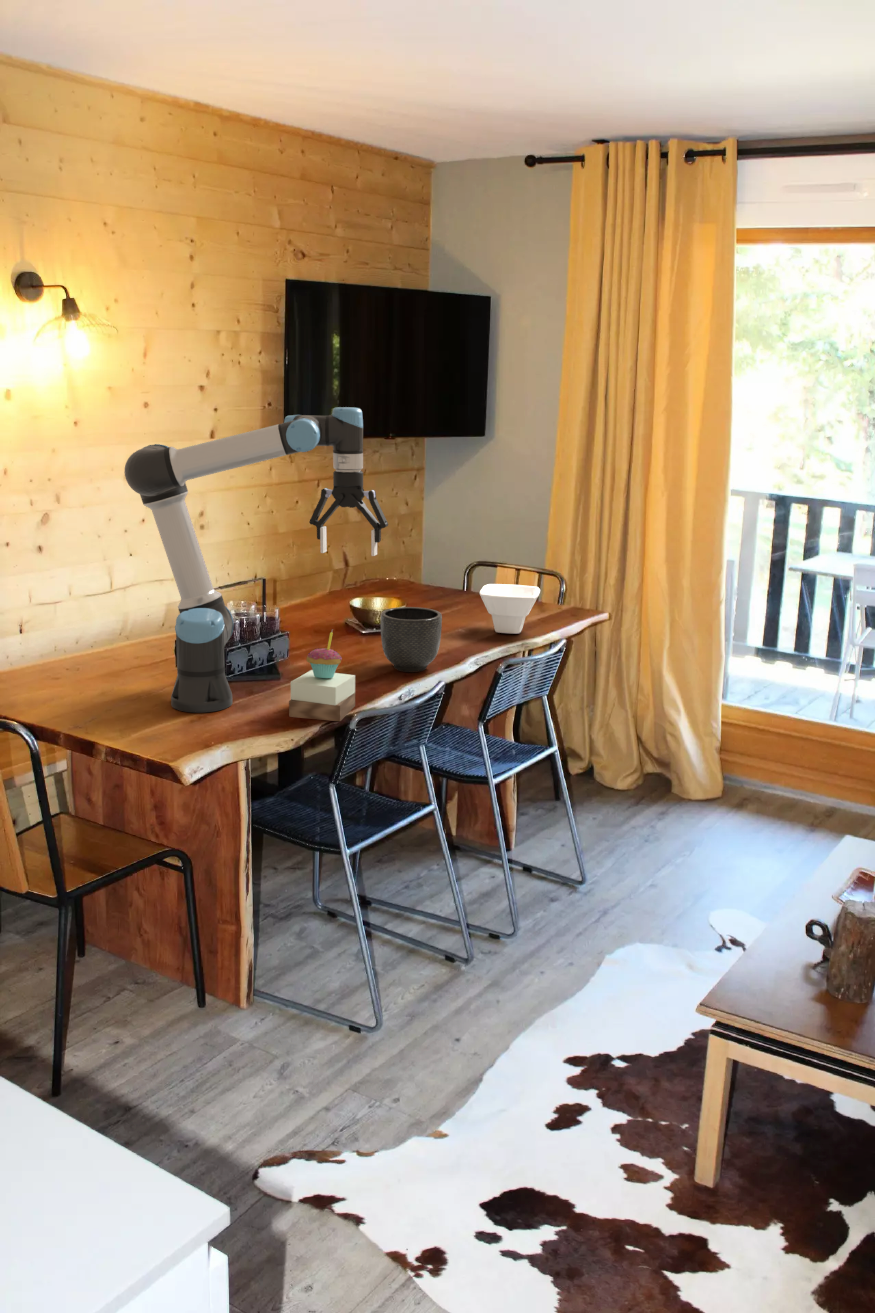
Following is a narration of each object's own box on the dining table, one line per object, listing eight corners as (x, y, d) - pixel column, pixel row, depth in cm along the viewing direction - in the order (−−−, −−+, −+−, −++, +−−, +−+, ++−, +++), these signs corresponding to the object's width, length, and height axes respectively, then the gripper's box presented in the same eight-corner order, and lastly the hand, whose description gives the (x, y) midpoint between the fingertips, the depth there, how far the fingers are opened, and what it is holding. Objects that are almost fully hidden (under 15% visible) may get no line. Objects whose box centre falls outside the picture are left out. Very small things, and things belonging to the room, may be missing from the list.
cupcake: (346, 676, 289) (349, 629, 287) (328, 680, 281) (331, 631, 280) (317, 672, 292) (319, 625, 291) (299, 676, 285) (301, 628, 283)
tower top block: (290, 699, 284) (290, 681, 283) (311, 686, 295) (311, 669, 294) (335, 705, 280) (335, 687, 279) (355, 692, 291) (355, 675, 290)
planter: (406, 680, 318) (407, 623, 314) (367, 666, 330) (368, 611, 326) (453, 670, 329) (454, 615, 325) (414, 657, 341) (415, 604, 337)
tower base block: (289, 718, 284) (289, 701, 283) (306, 703, 296) (306, 686, 295) (340, 723, 281) (340, 705, 280) (355, 707, 294) (355, 690, 293)
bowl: (475, 637, 366) (477, 594, 363) (483, 624, 385) (485, 582, 381) (534, 641, 363) (536, 598, 360) (539, 627, 382) (541, 586, 378)
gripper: (296, 469, 291) (297, 553, 296) (391, 473, 285) (391, 558, 290) (306, 466, 298) (307, 548, 303) (400, 470, 292) (399, 553, 298)
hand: (348, 553), depth 297 cm, fingers open, 13 cm apart
